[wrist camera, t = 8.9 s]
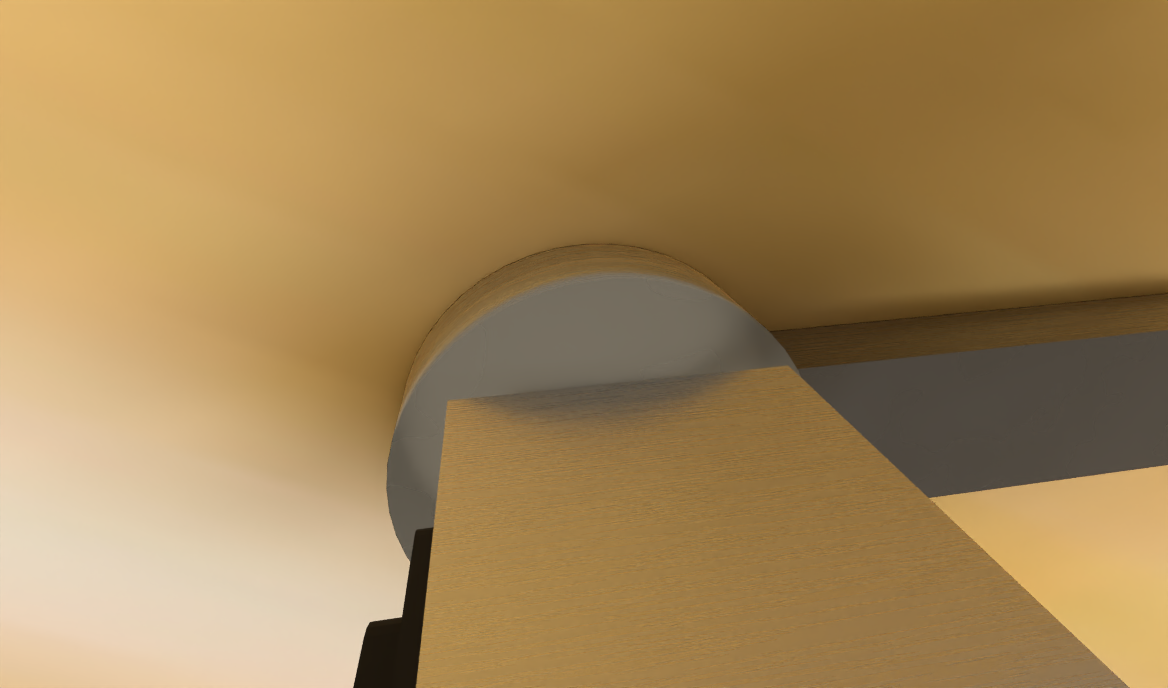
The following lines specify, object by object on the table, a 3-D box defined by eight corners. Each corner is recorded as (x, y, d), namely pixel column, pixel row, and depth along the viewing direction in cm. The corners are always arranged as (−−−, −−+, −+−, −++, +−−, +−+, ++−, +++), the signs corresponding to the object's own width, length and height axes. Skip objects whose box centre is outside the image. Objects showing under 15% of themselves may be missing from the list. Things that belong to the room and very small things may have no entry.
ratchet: (1217, 197, 15) (1691, 274, 9) (1101, 489, 19) (1386, 678, 13) (369, 260, 12) (268, 424, 7) (430, 584, 16) (401, 875, 10)
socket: (788, 365, 11) (1227, 779, 4) (758, 609, 13) (1012, 1099, 7) (447, 401, 10) (386, 962, 4) (483, 652, 12) (485, 1246, 6)
